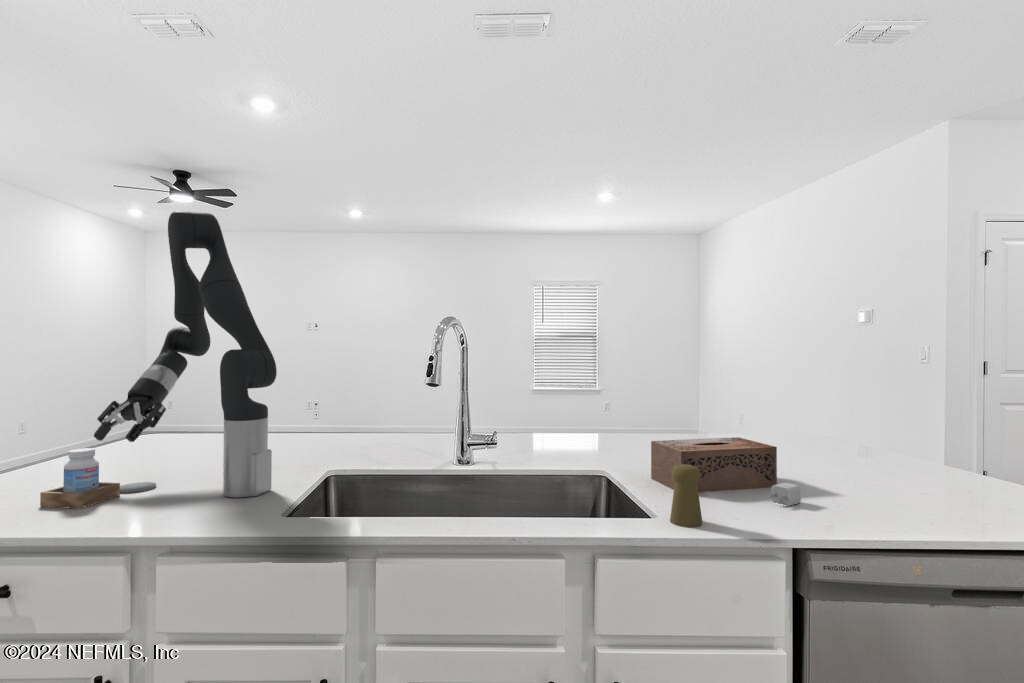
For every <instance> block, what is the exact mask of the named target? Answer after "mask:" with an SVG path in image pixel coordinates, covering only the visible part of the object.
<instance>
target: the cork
mask: <svg viewBox="0 0 1024 683" xmlns="http://www.w3.org/2000/svg"><path fill="white" fill-rule="evenodd" d="M672 477H673V479H674V481H675V487H674V490H673V495H672V503H671V510H670V518H669V521H670V523H671V524H672V525H675V526H677V527H682V528H698V527H702V526H703V524H702V523H703V517H702V510H701V502H700V495H699V492H698V486H697V483H698V482H699V479H700V471H699V469H698V468H697V467H695V466H692V465H686V464H682V465H676V466H675V467H674V468H673V471H672Z"/></svg>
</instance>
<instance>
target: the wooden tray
mask: <svg viewBox="0 0 1024 683" xmlns="http://www.w3.org/2000/svg"><path fill="white" fill-rule="evenodd" d="M120 486H121V483H120V482H108V481H107V482H106V481H104V482H103V481H99V488H97V489H93V490H90V491H86V492H83V493H65V492H63V486H60V487H57V488H53V489H48V490H45V491H41V492H40V493H39V494H40V497H39V498H40V504H39V506H47V507H46V508H55V507H69V508H68V509H73V508H81V509H83V508H82V507H84V506H87V507H89V506H88V505H90V506H92V505H91V504H93V505H95V504H94V503H97V502H100V501H103V500H106V501H108V500H107V499H109V500H111V499H110V498H113V497H116V498H118V497H117V496H119V497H120V494H121V493H120ZM113 499H114V498H113ZM103 502H104V501H103ZM100 503H101V502H100ZM97 504H98V503H97ZM48 506H49V507H48ZM84 508H85V507H84Z"/></svg>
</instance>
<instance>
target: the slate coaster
mask: <svg viewBox="0 0 1024 683" xmlns="http://www.w3.org/2000/svg"><path fill="white" fill-rule="evenodd" d="M154 487H155V488H157V483H156V482H151V481H141V482H132V483H126V484H122V485H121V484H120V494H133V493H132V492H136V493H141V492H140V491H142V492H146V491H145V490H147V491H149V489H151V490H153V489H155V488H154ZM152 488H153V489H152Z"/></svg>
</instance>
